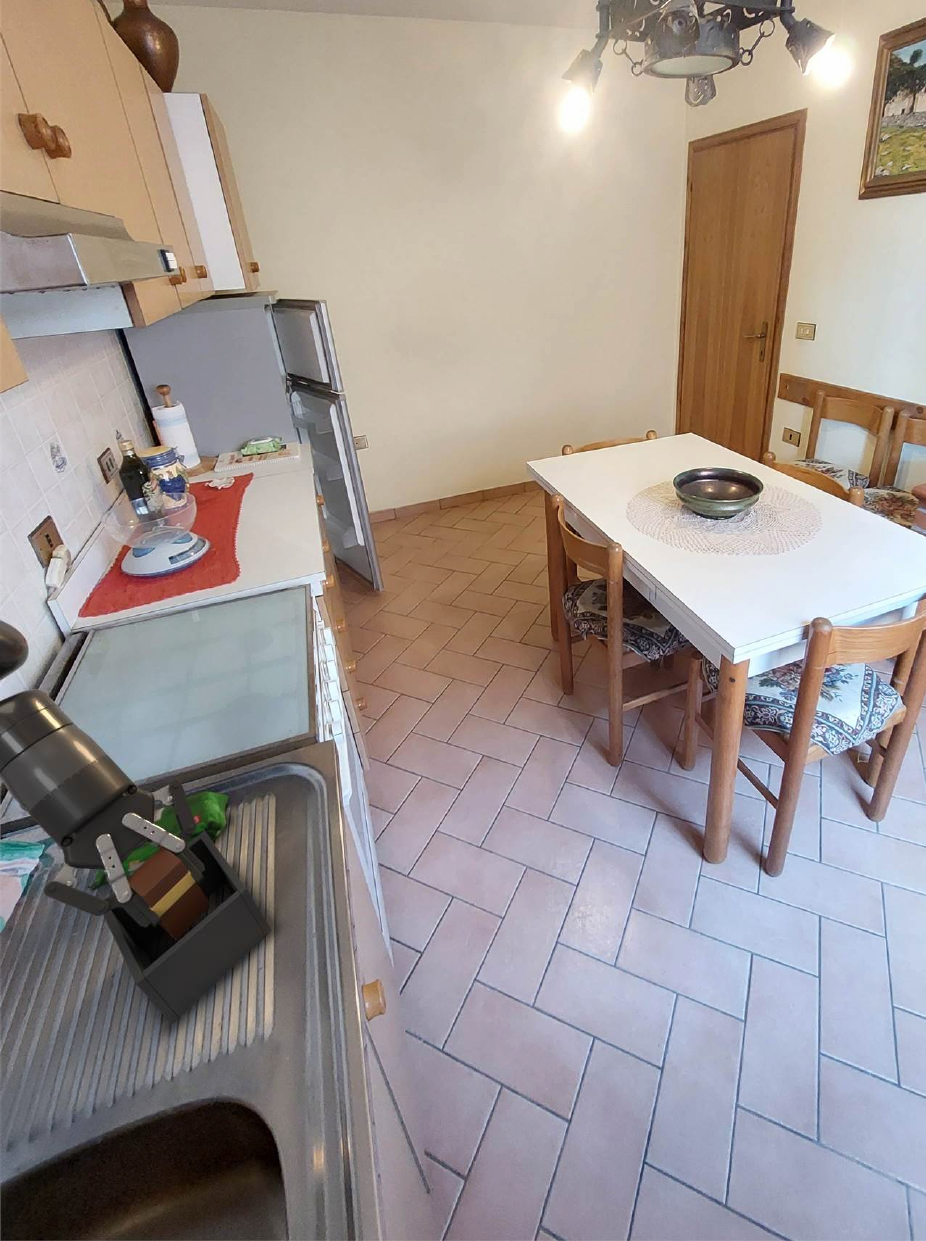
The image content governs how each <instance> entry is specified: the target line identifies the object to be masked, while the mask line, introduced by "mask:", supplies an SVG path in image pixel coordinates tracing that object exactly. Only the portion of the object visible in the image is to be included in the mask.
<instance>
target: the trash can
mask: <svg viewBox="0 0 926 1241" xmlns="http://www.w3.org/2000/svg"><path fill="white" fill-rule="evenodd" d="M187 845H188V848H189V849H190V851H191V852H192V853H193V854H194V855H195V856H196V857H197V858H198V859H199V860H200V861H201V862H202V863H203V864H204V867H205V870H204V871H203V872H202V873H201V874H202V875H203V876H204V879H203V880H202V881H201V882H200V883H199V884H198V886H199V887H200V889H201V890H202V892H203V893H204V895H205V896H206V898H208V896H210V895H211V894H212V893H213V892H214V891H216V890H217V889H218V888H219V887H221V885H223V884H224V883H225V882H226V881H227V883H228V884H229V886H230V887H231V888H232V890H233V891H234V893H232V894H231V895H230V896H229V897H228V898H227V899H225V900H224V901H223V902H222V903H221V904H220V905H219V906H217V907H216V908H215V909H214V910H213V911H211V912H210V913H209V914H208V915H207V916H205V918H203V919H201V921H200V922H199V923H198V924H196V925H195V926H194V927H193V928H192V929H191V930H189V931H188V932H187V933H185V935H184V936H182V937H180V938H179V939H178V940H177V942H176V943H174V944H173V945H172V946H171V947H169V949H167V950H166V951H165V952H164V953H162V954H161V955H160V956H159V957H158V958H157V959H156V960H154V961H153V962H151V959H150V958H149V956H148V954H147V952H146V950H145V949H146V948H148V947H149V946H150V945H151V944H152V943H153V942H155V941H156V940H158V939H159V937H161V936H162V935H163V934H164V933H166V931H165V930H164V929H163V928H162V927H161V926H160V925H159V924H158V925H157V926H156V927H153V926H152V925H151V924H149V925H148V926H147V927H146V928H145V927H142V926H139V925H138V923H137V922H136V921H135V920H134V919H133V918H132V917H131V916H130V915H129V914H128V913H127V912H126V911H125V909H123V908H121V907H117V908H114V909H112V910H110V911H109V912H107V913H105V914H103V915H102V917H103V918H104V920H105V922H106V924H107V925H108V929H109V931H110V932H111V935H112V937H113V939H114V941H115V943H116V945H117V947H118V949H119V951H120V954H121V955H122V957H123V959H124V961H125V964H126V966H127V968H128V970H129V972H130V974H131V976H132V978H133V981H134V982H135V985H136V986H137V987H138V988H139V989H140V990H141V991H142V993H143V994H144V995H145V996H146V997H147V998H148V999H149V1000H150V1001H151V1003H152V1004H153V1005H154V1006H155V1007H156V1008H157V1009H158V1010H159V1012H161V1014H162V1015H163V1016H164V1017H165V1018H166V1020H168V1021H169V1023H170V1024H171V1025H173V1024H174V1023H176V1022H177V1021H178V1020H179V1018H181V1017H182V1016H183V1015H185V1013H187V1011H188V1010H190V1009H191V1008H192V1007H193V1006H194V1005H195V1004H196V1003H197V1002H198V1001H199V1000H200V999H201V998H202V997H203V996H204V995H206V993H207V992H208V991H209V990H211V989H212V988H213V987H214V986H215V985H216V984H217V983H218V982H219V981H220V980H221V979H223V977H224V976H226V974H227V973H229V972H230V971H231V970H232V969H233V968H234V967H235V966H236V965H237V964H238V963H240V961H242V959H243V958H245V957H246V955H248V954H249V953H250V952H251V951H252V950H253V949H254V948H255V947H256V946H257V945H259V943H261V942H262V941H263V940H264V938H266V937H267V936H268V935H270V933H271V932H272V928H271V926H270V924H269V923H268V922H267V920H266V918H265V916H264V915H263V913H262V912H261V910H260V908H259V906H258V905H257V903H256V901H255V900H254V898H253V897H252V895H251V893H250V892H249V890H248V888H247V887H246V885H245V884H244V883H243V881H242V880H241V879H240V877H239V876H238V875H237V873H236V872H235V870H234V869H233V868H232V867H231V865H230V863H229V862H228V860H226V858H225V857H224V855H223V854H222V852H221V851H220V850H219V848H218V846H216V845H215V843H214V841H212V840H211V839H210V838H209V836H208V835H207V834H206V832H205V831H203V832H202V833H201V834H199V836H197V837H196V838H194V839H193V840H192V841H190V842H189V843H188V844H187ZM132 892H133V891H132Z"/></svg>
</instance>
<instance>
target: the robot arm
mask: <svg viewBox="0 0 926 1241" xmlns="http://www.w3.org/2000/svg"><path fill="white" fill-rule="evenodd" d="M29 653H30V652H29V644H28V641H27V639H26V637H25V636H24V635H23V634H22V633H21V631H19V629H17V627H16V628H15V627H14V626H13V625H11V624H10V623H8V622H6V621H4V620H1V619H0V681H2V680H4V679H5V678H7V677H9V676H10V675H12V674H14V672H16V671H18V670H19V669H20V668H22V666H24V665H25V664H26V662H27V661H28V660H27V659H28V657H29ZM0 780H1V781H2V783H3V784H4V786H5V787H6V789H7V791H8V793H9V794H10V795H11V796H12V798H13V799H14V800H15V801H16V802H17V803H18V805H19V807H20V808H21V809H22V810H23V811H25V812H26V813H27V814H28V815H29V816H30V817H31V818H32V819H33V820H34V821H35V822H36V823H37V824H38V825H39V827H40V828H41V829H42V830H43V831H44V832H45V833H46V834H47V835H48V837H50V838H51V839H52V840H53V842H54V843H55V844H56V845H57V846H58V847H59V849H61V851H62V853H63V860H64V861H63V862H64V865H63V866H62V868H61V870H59V872H58V873H57V874H56V876H55V877H54V878H53V880H52V881H50V882H48V883H47V884H46V886H45V887H44V890H43V894H44V895H45V897H47V898H50V899H52V900H55V901H57V902H60V903H62V904H65V905H67V906H70V907H72V908H75V909H78V910H80V911H83V912H85V913H88V914H89V915H93V916H95V917H100V916H101V917H102V916H103V914H105V913H107V912H109V911H110V910H112V909H114V908H117V907H121V908H123V909H125V911H126V912H127V913H128V914H129V915H130V916H131V917H132V918H133V919H134V920H135V921H136V922H137V923H138V925H139V926H142V927H145V928H146V927H147V926H148V925H149V924H151V925H152V926H153V927H156V926H157V925H158V924H159V923H160V922H161V921H162V919H161V918H160V917H159V916H158V915H157V914H156V913H155V912H154V911H152V910H151V909H150V907H149V906H148V905H147V904H146V903H145V901H144V900H143V899H142V898H141V897H140V896H139V895H138V894H136V895H135V894H134V893H133V892H132V890H131V888H130V885H129V883H128V880H127V878H126V875H125V872H124V869H123V867H122V865H121V864H122V863H123V862H124V861H125V860H126V859H127V858H128V857H129V855H130V854H131V853H132V852H133V851H134V850H136V849H138V848H140V847H141V846H142V845H144V844H145V843H146V842H147V843H149V844H151V845H153V846H156V847H159V848H161V847H164V848H166V849H167V850H169V851H170V852H171V853H172V854H174V855H175V856H176V857H177V858H179V859H180V860H181V861H182V863H183V864H184V865H185V867H186V868H187V870H188V871H189V872H190V873H191V876H192V877H193V879H194V880H195V882H196V883H197V885H198V884H199V883H200V882H201V881H202V880H203V879H204V876H203V875H202V874H201V873H202V872H203V871H204V870H205V867H204V864H203V863H202V862H201V861H200V860H199V859H198V858H197V857H196V856H195V855H194V854H193V853H192V852H191V851H190V849H189V848H188V845H187V844H188V840H189V839H190V837H191V835H192V834H193V832H194V831H195V830H196V828H197V825H196V822H195V819H194V816H193V814H192V811H191V808H190V805H189V802H188V800H187V797H188V796H187V795H186V792H185V788H184V786H183V783H182V782H181V781H180V780H178V779H175V780H173V781H171V782H170V783H169V784H168V785H166V786H164V787H161V788H160V789H158V790H157V789H156V790H155V791H153V792H151V791H149V790H145V789H141V788H140V787H138V786H137V785H136V784H135V782H133V780H131V778H130V777H129V776H128V774H126V773H125V772H124V771H123V769H122V768H121V767H120V766H118V764H117V763H116V762H115V761H114V760H113V759H112V758H111V756H110V755H108V753H107V752H105V750H104V749H103V748H102V747H101V746H100V745H99V744H98V742H96V741H95V739H93V738H92V737H91V736H90V735H89V734H87V733H86V732H85V731H83V730H82V729H81V728H80V727H78V726H77V724H75V723H74V721H72V719H71V718H70V717H69V716H68V715H67V714H66V713H65V712H64V710H62V708H61V707H59V705H58V704H57V703H56V702H55V701H54V700H53V699H52V698H51V697H50V695H48V694H47V693H46V692H45V691H43V690H40V689H37V688H36V689H35V688H31V689H26V690H23V691H20V692H17V693H14V694H12V695H10V696H7V697H5V698H3V699H1V700H0ZM155 802H156V803H157V802H160V803H161V804H162V806H163V807H169V806H172V808H173V811H174V814H175V817H176V820H177V823H178V825H179V828H180V832H179V834H178V835H177V837H175V836H173V835H172V834H170V833H168V832H167V831H165V830H164V829H162V828H160V827H158V826H156V825H154V811H155V804H156V803H155ZM75 869H83V870H98V869H101V870H104V872H105V874H106V877H107V879H108V882H109V883H108V884H109V886H110V888H111V891H112V893H113V894H112V895H110V896H108V897H106V898H104V899H102V898H100V897H98V896H95V895H92V894H89V893H87V892H85V891H83V890H80V889H77V888H76V887H77V886H78V884H79V881H78V878H77V877H76V876H74V870H75Z"/></svg>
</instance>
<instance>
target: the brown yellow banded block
mask: <svg viewBox="0 0 926 1241" xmlns="http://www.w3.org/2000/svg"><path fill="white" fill-rule="evenodd" d="M127 880H128V883H129V885H130V888H131V890H132V891H133V893H134V894H135V895H136V894H138V895H139V896H140V897H141V898H142V899H143V900H144V901H145V903H146V904H147V905H148V906H149V907H150V909H151V910H152V911H154V912H155V913H156V914H157V915H158V916H159V917H160V918H161V919H162V921H161V922H160V923H159V925H160V926H161V927H162V928H163V929H164V930H165V932H166V933H168V935H170V936H171V938H173V939H174V940H175V941H179V940H180V939H181V938H182V937H183V935H184V934H186V932H187V931H188V930H189V929H190V928H191V926H193V925H194V924H195V923H196V921H197V920H198V919H200V917H201V916H202V915H203V914H204V913H205V912H206V911H207V910H208V909H209V908H210V907H211V905H212V903H211V902H210V900H209V899H208V897H206V896H205V895H204V893H203V892H202V890H201V889H200V887H199V886H198V885H197V883H196V882H195V880H194V879H193V877H192V876H191V873H190V872H189V871H188V870H187V868H186V867H185V865H184V864H183V863H182V861H181V860H180V859H179V858H177V857H176V856H175V855H174V854H172V853H171V852H170V851H169V850H167V849H166V848H164V847H161V848H160V849H159V850H157V851H156V852H155V853H154V854H153V855H152V856H151V857H150V858H149V859H148V860H146V861H145V862H144V863H143V864H142V865H141V866H140V867H139V868H138V869H136V870H135V871H134V872H133V873H132V874H131V875H130V876H129V877H128V878H127Z"/></svg>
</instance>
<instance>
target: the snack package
mask: <svg viewBox="0 0 926 1241" xmlns="http://www.w3.org/2000/svg"><path fill="white" fill-rule="evenodd" d="M186 797H187V800H188V802H189V805H190V808H191V811H192V814H193V816H194V819H195V822H196V825H197V828H196V830H195V831H194V832H193V834H192V835H191V837H190V839H189V840H188V843H189V842H190V841H192V840H193V839H194V838H196V837H197V836H199V834H201V833H202V832H203V831H205V832H206V834H207V835H208V836H209V838H210V839H211V840H212V842H214V841H216V839H218V837H219V835H220V834H221V833H222V832H223V830H225V827H226V825H227V820H226V819H227V818H226V811H225V810H226V805H227V804H228V803H229V802H228V801H229V795H228V794H223V793H218V792H213V791H202V792H201V791H200V792H197V793H195V794H192V795H189V796H186ZM154 825H156V826H158V827H160V828H162V829H164V830H165V831H167V832H168V833H170V834H172V835H173V836H175V837H177V835H178V834H179V832H180V828H179V825H178V823H177V820H176V817H175V814H174V811H173V808H172V806H169V807H165V806H163V807H160V808H158V809H156V810H154ZM159 849H160V848H159V847H156V846H153V845H151V844H149V843H147V842H146V843H145V844H144V845H142V846H141V847H140V848H138V849H136V850H134V851H133V852H132V853H131V854H130V855H129V857H128V858H127V859H126V860H125V861H124V862H123V863H122V864H121V865H122V867H123V869H124V872H125V875H126V878H128V877H129V876H130V875H131V874H132V873H133V872H134V871H135V870H136V869H138V868H139V867H140V866H141V865H142V864H143V863H144V862H145V861H146V860H148V859H149V858H150V857H151V856H152V855H153V854H154V853H155V852H156V851H157V850H159ZM108 884H109V882H108V879H107V877H106V874H105V872H104V870H101V869H97V872H96V875H95V877H94V879H93V882H92V884H91V885H90V886H87V888H88V889H90V890H91V891H92V892H93V891H96V890H98V889H99V888H101V887H103V886H105V885H108Z"/></svg>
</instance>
